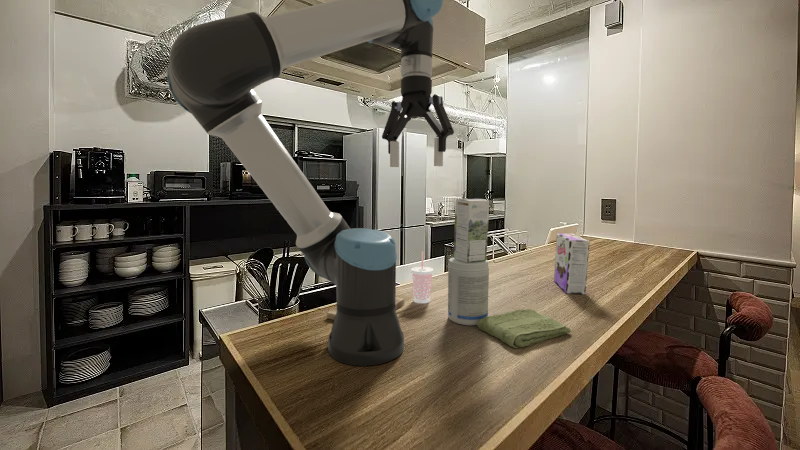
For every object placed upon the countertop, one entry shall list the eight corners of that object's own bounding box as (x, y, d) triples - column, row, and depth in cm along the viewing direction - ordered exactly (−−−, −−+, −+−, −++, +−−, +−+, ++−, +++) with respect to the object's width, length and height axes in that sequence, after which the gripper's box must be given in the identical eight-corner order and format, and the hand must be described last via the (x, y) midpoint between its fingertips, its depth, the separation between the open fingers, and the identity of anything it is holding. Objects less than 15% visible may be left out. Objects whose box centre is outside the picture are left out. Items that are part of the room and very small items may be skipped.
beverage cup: (413, 296, 106) (414, 248, 104) (434, 298, 105) (435, 249, 103) (408, 303, 100) (408, 252, 99) (430, 305, 99) (431, 254, 97)
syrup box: (472, 256, 91) (474, 198, 89) (487, 261, 86) (489, 199, 84) (452, 258, 89) (454, 198, 87) (467, 263, 83) (469, 199, 82)
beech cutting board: (369, 327, 84) (369, 321, 83) (327, 318, 89) (327, 312, 89) (404, 304, 100) (404, 298, 99) (366, 297, 105) (366, 292, 105)
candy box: (553, 281, 123) (556, 232, 121) (571, 282, 122) (574, 233, 120) (565, 293, 109) (569, 239, 107) (586, 294, 109) (590, 240, 107)
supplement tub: (495, 319, 89) (497, 260, 87) (472, 330, 83) (474, 266, 81) (462, 309, 96) (464, 254, 94) (439, 318, 90) (440, 259, 88)
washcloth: (574, 336, 81) (575, 322, 81) (515, 353, 73) (516, 337, 72) (528, 316, 93) (528, 304, 92) (472, 329, 84) (473, 315, 84)
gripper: (368, 82, 94) (368, 166, 97) (453, 64, 78) (450, 165, 81) (387, 88, 100) (387, 167, 102) (469, 72, 84) (467, 166, 87)
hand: (415, 166), depth 92 cm, fingers open, 13 cm apart
